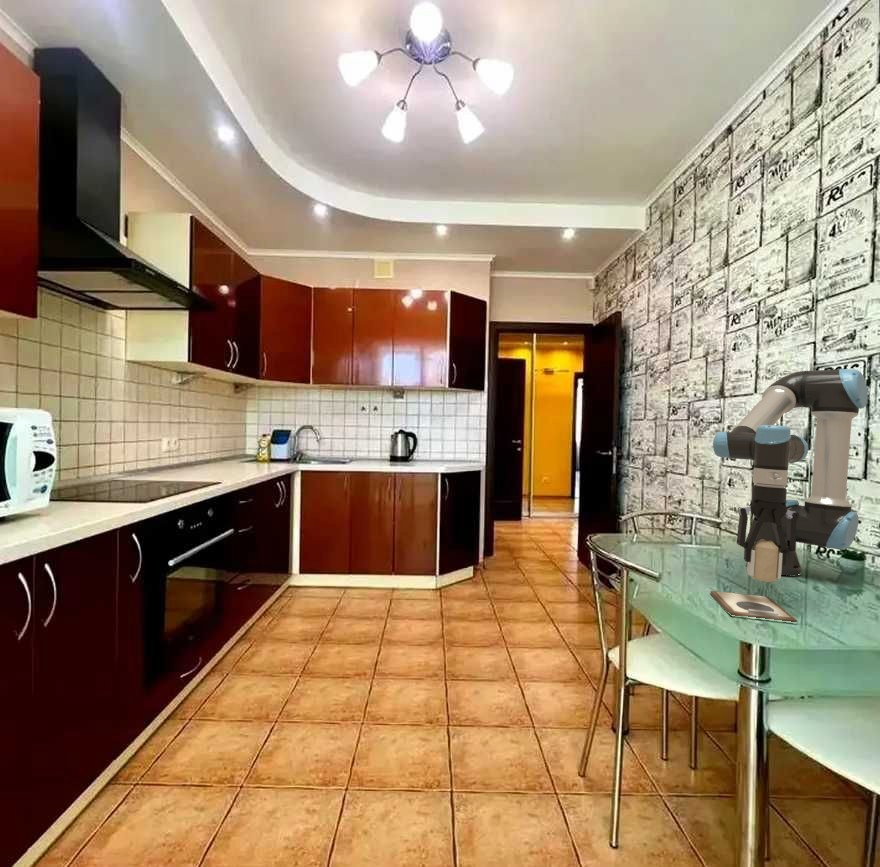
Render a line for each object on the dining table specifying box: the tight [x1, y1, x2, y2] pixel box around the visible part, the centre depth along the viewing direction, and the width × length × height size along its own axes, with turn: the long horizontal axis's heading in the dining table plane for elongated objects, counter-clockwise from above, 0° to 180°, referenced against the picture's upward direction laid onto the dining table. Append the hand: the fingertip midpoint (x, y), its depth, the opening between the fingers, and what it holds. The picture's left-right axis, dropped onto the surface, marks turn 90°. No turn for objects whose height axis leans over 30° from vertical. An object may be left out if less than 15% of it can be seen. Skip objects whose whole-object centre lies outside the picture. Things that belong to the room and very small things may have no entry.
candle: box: [750, 539, 778, 583], centre depth 138 cm, size 6×6×10 cm
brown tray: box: [709, 590, 798, 623], centre depth 135 cm, size 14×18×2 cm
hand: (763, 575), depth 138 cm, fingers closed on candle, 5 cm apart
